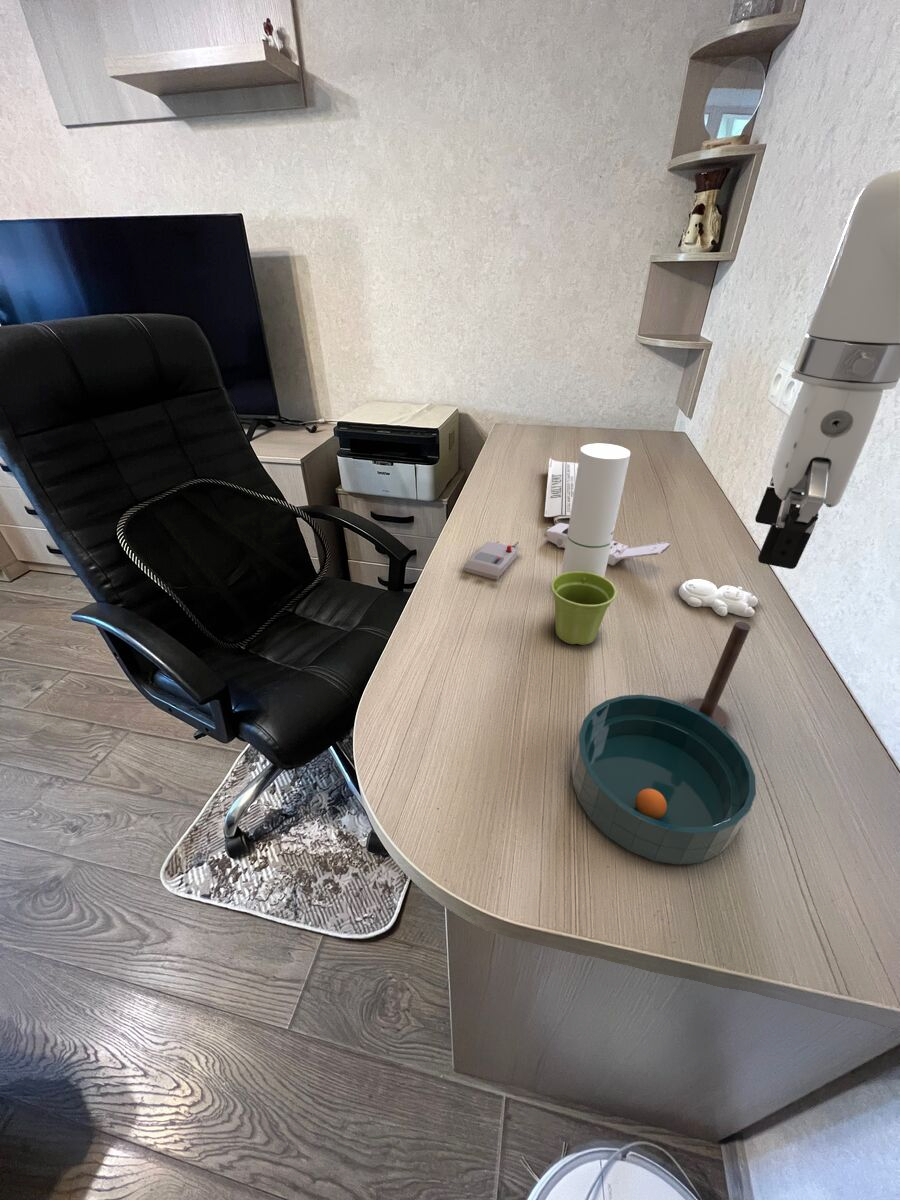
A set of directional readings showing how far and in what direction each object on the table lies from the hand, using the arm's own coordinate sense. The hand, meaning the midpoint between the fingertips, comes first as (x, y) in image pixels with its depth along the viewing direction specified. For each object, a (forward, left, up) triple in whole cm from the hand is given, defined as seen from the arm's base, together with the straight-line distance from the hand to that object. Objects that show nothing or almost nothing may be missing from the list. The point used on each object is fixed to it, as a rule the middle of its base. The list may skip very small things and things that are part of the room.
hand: (772, 542), depth 52 cm
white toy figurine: (-1, -27, -24) cm, 37 cm away
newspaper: (+33, -61, -24) cm, 74 cm away
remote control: (+38, -24, -24) cm, 51 cm away
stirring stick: (0, +2, -24) cm, 24 cm away
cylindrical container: (+21, -20, -24) cm, 38 cm away
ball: (+5, +19, -22) cm, 30 cm away
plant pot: (+19, -8, -24) cm, 32 cm away
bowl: (+5, +16, -24) cm, 29 cm away
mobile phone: (+21, -35, -24) cm, 48 cm away
